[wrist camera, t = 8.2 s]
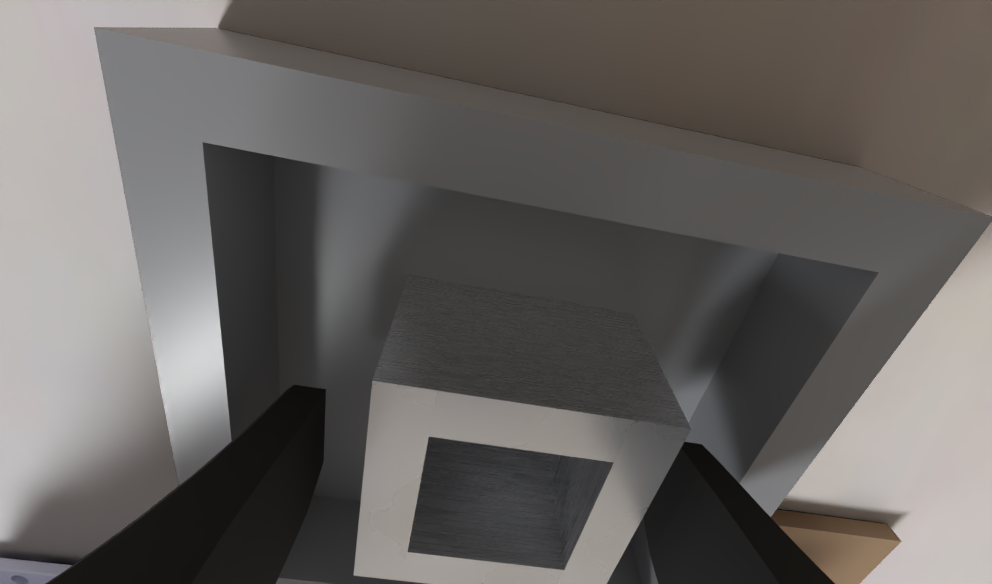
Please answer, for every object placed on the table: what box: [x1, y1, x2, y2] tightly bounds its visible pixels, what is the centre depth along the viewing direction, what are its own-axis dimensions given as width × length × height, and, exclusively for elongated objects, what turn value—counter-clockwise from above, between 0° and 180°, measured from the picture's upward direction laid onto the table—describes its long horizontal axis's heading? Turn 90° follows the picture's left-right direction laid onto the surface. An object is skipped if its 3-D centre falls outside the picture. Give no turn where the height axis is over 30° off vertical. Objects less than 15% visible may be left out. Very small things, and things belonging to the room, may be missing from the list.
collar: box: [354, 274, 691, 584], centre depth 10 cm, size 5×5×4 cm
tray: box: [94, 27, 992, 584], centre depth 11 cm, size 13×13×3 cm
